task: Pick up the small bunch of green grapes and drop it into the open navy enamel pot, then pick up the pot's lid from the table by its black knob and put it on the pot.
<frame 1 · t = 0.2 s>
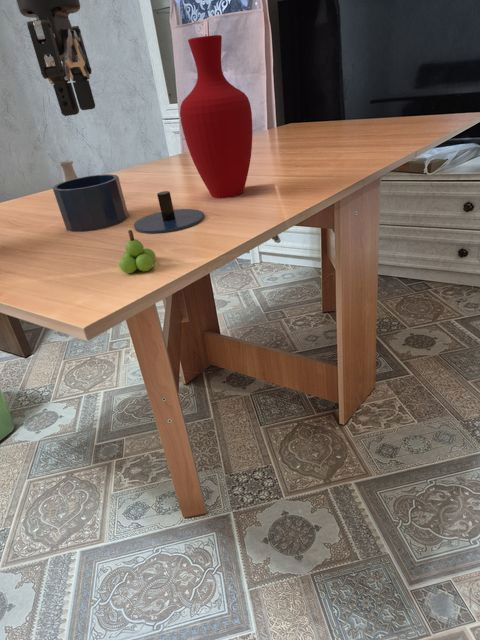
hand: (80, 112, 66), 22 cm above the table, tool pointing down, fingers open, 8 cm apart
pot: (98, 224, 97), on the table
lid: (169, 221, 90), point 1 cm above the table
vase: (228, 197, 105), on the table
grapes: (140, 268, 72), on the table
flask: (79, 205, 114), on the table
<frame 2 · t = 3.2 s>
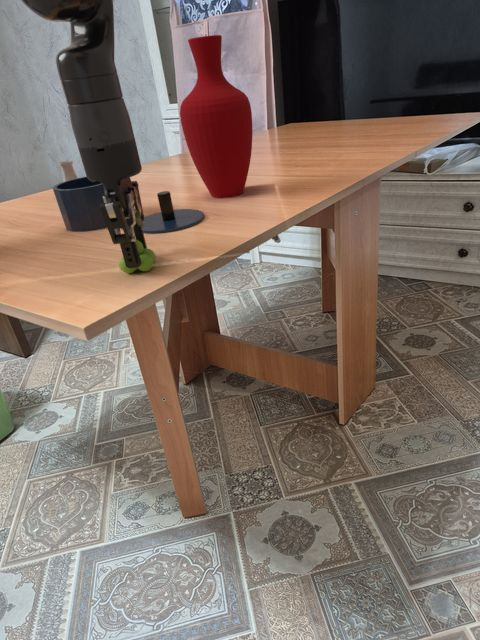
hand: (137, 259, 71), 1 cm above the table, tool pointing down, fingers closed on grapes, 5 cm apart
grapes: (140, 268, 72), on the table, touching gripper
everything else where it was.
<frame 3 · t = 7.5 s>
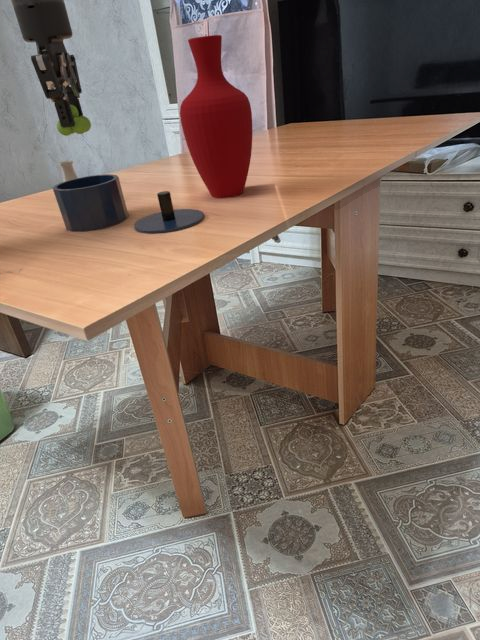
hand: (73, 124, 80), 19 cm above the table, tool pointing down, fingers closed on grapes, 5 cm apart
grapes: (76, 133, 81), point 18 cm above the table, touching gripper
everything else where it was.
when the fingers open (7 cm above the table, at t = 11.7 s): grapes drops 5 cm, resting on pot.
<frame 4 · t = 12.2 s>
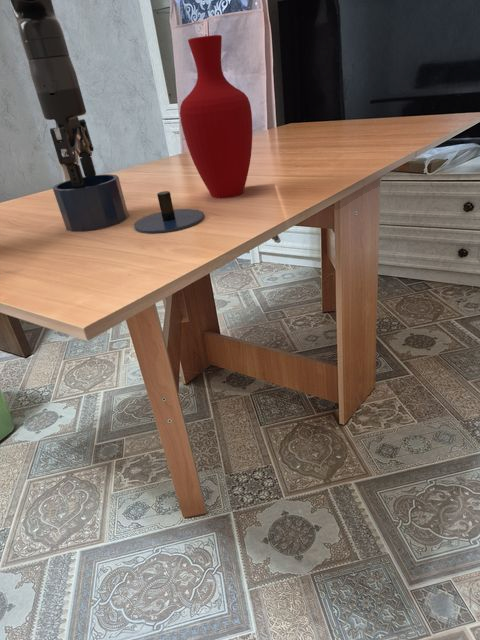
hand: (85, 181, 92), 9 cm above the table, tool pointing down, fingers open, 8 cm apart
grapes: (97, 221, 96), resting on pot
everything else where it was.
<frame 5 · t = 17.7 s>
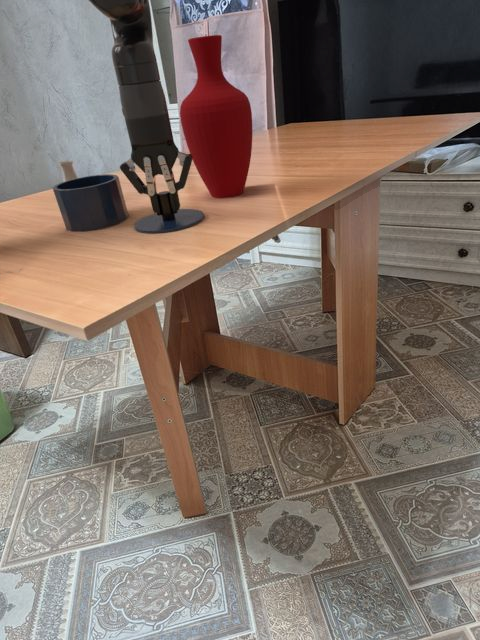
hand: (167, 213, 89), 2 cm above the table, tool pointing down, fingers closed on lid, 2 cm apart
lid: (169, 221, 90), point 1 cm above the table, touching gripper
everything else where it was.
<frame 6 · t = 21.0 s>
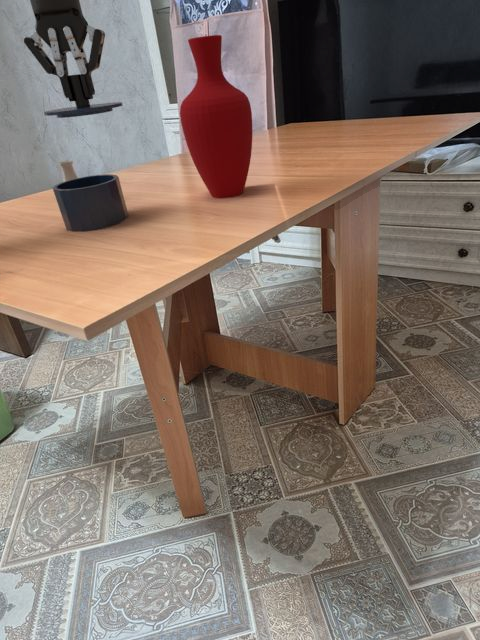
hand: (81, 99, 83), 23 cm above the table, tool pointing down, fingers closed on lid, 2 cm apart
lid: (84, 110, 84), point 21 cm above the table, touching gripper
everything else where it was.
when the fingers open (10 cm above the table, at t = 24.6 s): lid stays where it is, resting on pot.
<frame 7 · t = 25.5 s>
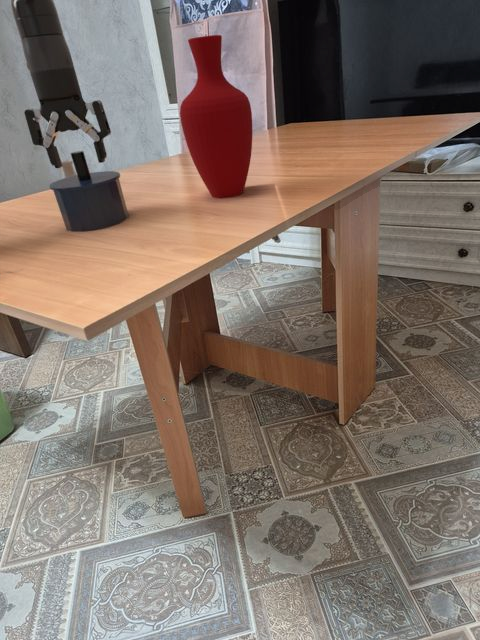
hand: (80, 164, 91), 12 cm above the table, tool pointing down, fingers open, 8 cm apart
lid: (85, 181, 92), point 8 cm above the table, touching pot
everything else where it was.
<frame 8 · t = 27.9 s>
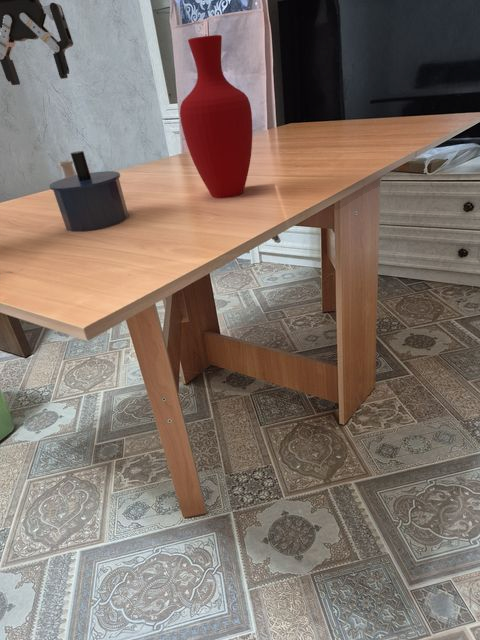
hand: (40, 81, 81), 26 cm above the table, tool pointing down, fingers open, 8 cm apart
nothing on the table moved.
at the end: grapes inside the target area in the pot (0.1 cm from its centre), point 0.5 cm above the pot's base; lid 0.0 cm off-centre on the pot, point 8.5 cm above the pot's base; lid tilted 0° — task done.
